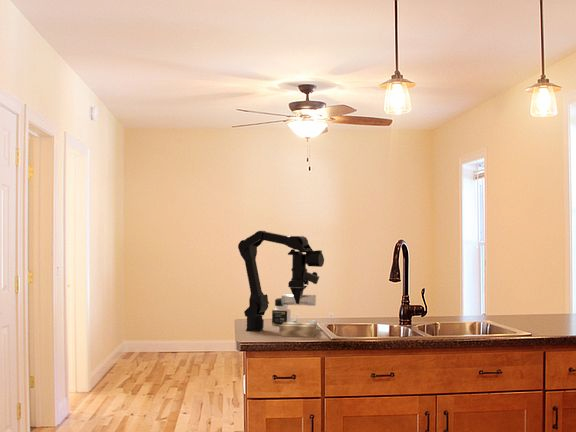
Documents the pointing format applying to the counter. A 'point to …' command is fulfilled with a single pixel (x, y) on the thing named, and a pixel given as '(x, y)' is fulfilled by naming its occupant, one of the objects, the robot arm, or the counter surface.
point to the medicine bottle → (280, 313)
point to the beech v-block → (297, 329)
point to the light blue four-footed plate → (309, 322)
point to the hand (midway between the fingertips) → (298, 303)
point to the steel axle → (304, 300)
